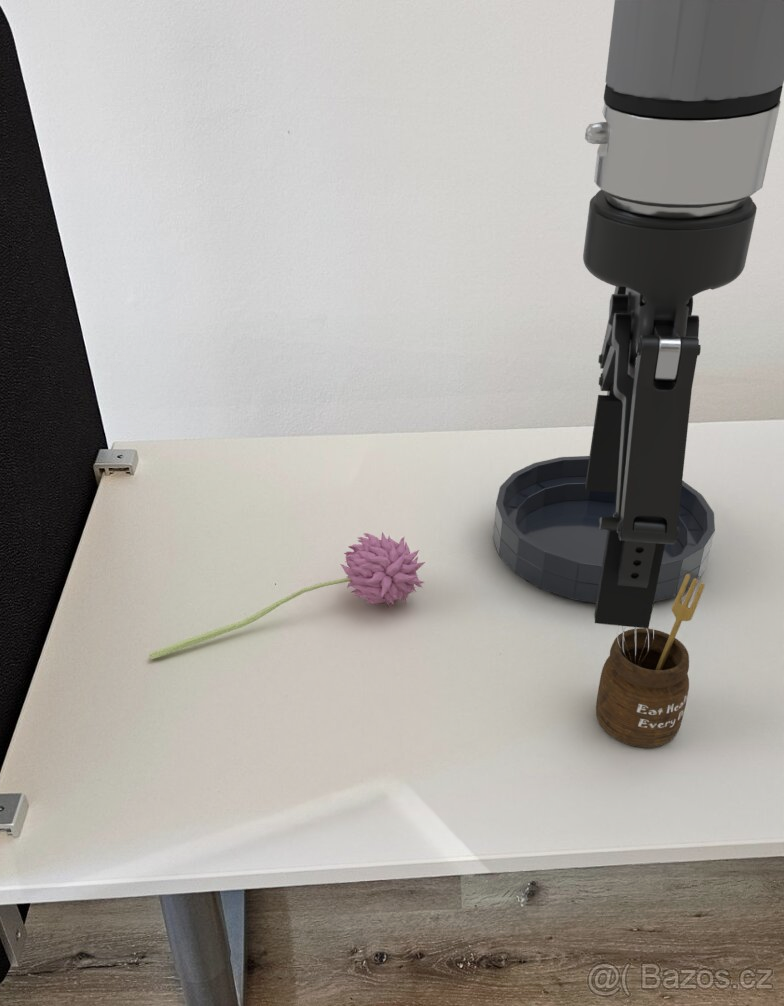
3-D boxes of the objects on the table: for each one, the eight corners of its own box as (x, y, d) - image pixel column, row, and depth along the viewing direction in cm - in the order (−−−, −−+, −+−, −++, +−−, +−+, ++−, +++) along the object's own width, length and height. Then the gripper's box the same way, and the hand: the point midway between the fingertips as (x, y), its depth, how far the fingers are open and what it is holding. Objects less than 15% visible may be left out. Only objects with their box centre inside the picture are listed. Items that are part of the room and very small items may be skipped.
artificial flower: (176, 717, 88) (444, 602, 92) (152, 648, 85) (430, 532, 89) (154, 678, 94) (407, 571, 98) (131, 612, 91) (392, 505, 95)
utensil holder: (576, 713, 81) (596, 586, 75) (637, 682, 83) (662, 557, 77) (637, 762, 76) (664, 632, 70) (700, 729, 79) (732, 600, 72)
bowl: (702, 508, 102) (711, 468, 100) (707, 626, 88) (718, 582, 86) (505, 485, 108) (509, 446, 106) (480, 591, 94) (484, 549, 92)
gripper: (582, 127, 63) (546, 441, 74) (603, 287, 43) (548, 683, 54) (722, 125, 61) (662, 448, 72) (812, 292, 41) (710, 702, 52)
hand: (613, 550), depth 63 cm, fingers open, 13 cm apart
